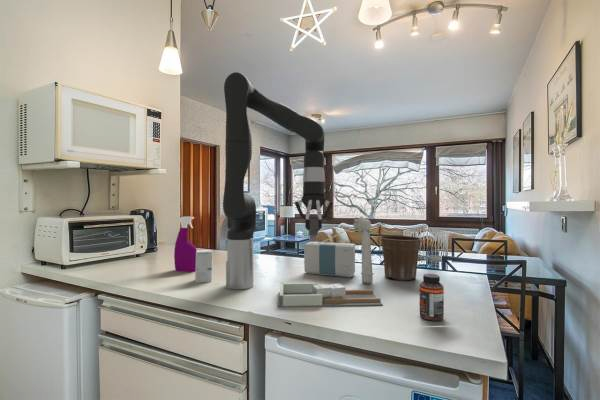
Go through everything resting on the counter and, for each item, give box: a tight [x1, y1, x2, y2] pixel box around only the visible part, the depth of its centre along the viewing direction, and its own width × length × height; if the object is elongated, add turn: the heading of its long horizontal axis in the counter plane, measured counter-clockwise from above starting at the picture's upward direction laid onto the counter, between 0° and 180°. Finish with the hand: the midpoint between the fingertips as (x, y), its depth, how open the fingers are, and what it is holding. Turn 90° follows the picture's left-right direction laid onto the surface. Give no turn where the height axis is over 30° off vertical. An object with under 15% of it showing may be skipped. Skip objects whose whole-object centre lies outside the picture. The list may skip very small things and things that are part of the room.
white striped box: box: [303, 227, 356, 278], centre depth 133 cm, size 21×8×20 cm, turn 67°
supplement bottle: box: [419, 273, 445, 322], centre depth 83 cm, size 6×6×11 cm
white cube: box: [312, 283, 331, 301], centre depth 98 cm, size 4×4×4 cm
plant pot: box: [379, 235, 423, 281], centre depth 128 cm, size 16×16×16 cm
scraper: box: [308, 218, 320, 242], centre depth 111 cm, size 3×6×11 cm
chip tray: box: [279, 282, 322, 306], centre depth 99 cm, size 12×14×3 cm
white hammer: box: [352, 216, 374, 285], centre depth 119 cm, size 5×7×25 cm
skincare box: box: [194, 249, 214, 283], centre depth 120 cm, size 6×4×12 cm
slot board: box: [277, 289, 384, 308], centre depth 99 cm, size 31×14×1 cm, turn 93°
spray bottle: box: [173, 215, 198, 273], centre depth 136 cm, size 3×11×24 cm, turn 74°
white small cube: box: [327, 283, 346, 298], centre depth 98 cm, size 4×4×4 cm
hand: (313, 230), depth 110 cm, fingers closed on scraper, 3 cm apart
